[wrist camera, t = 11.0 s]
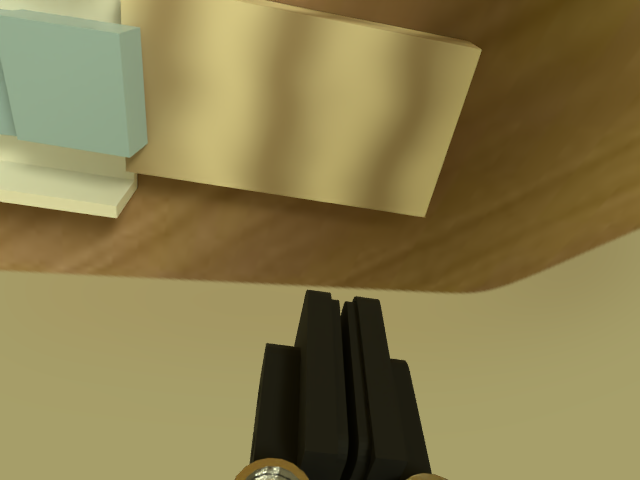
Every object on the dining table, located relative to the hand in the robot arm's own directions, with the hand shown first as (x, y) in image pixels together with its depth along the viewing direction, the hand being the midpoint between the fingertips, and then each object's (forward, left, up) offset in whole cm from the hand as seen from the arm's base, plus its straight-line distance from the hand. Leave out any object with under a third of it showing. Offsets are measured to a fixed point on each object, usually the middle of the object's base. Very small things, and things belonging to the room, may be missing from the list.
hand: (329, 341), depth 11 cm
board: (+1, 0, -20) cm, 20 cm away
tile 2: (+12, 0, -18) cm, 22 cm away
